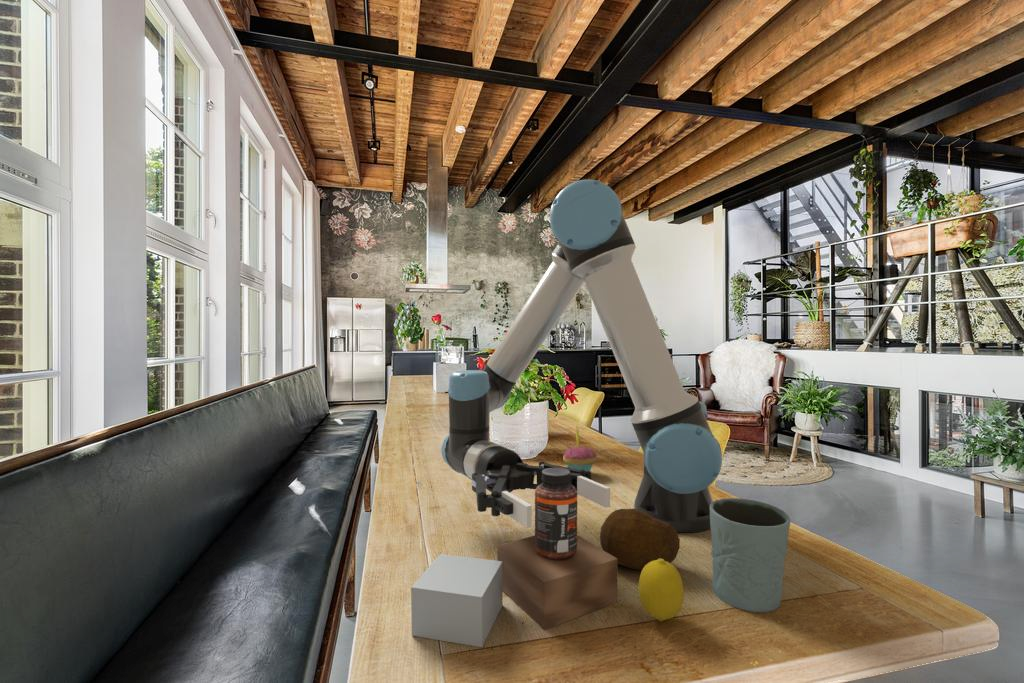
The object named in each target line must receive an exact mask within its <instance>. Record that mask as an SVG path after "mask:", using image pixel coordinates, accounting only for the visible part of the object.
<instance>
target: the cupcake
mask: <svg viewBox="0 0 1024 683" xmlns="http://www.w3.org/2000/svg"><path fill="white" fill-rule="evenodd" d="M575 427H576V429H575V435H576V436H575V438H576V445H575V446H571V447H569V448H567V449H566V450H565V451H564V452H563V457H562V460H563V461H564V463H565V464H566V465H567V466H566V467H569V468H574V469H580V470H582V469H584V470H585V471H590V472H591V469H592V466H593V464H595V463H597V461H598V457H597V456H598V455H597V453H596V452H595V451H594V450H593V449H591V448H589V447H586V446H580V435H579V434H580V433H579V432H580V431H579V429H578V425H576V426H575Z"/></svg>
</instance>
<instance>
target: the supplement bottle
mask: <svg viewBox="0 0 1024 683" xmlns="http://www.w3.org/2000/svg"><path fill="white" fill-rule="evenodd" d="M541 479H542V481H543V482H542V483H541V484H540V485H538V486H537V488H536V489H534V491H535V492H534V536H535V549H536V551H537V552H538V553H539V554H540V555H542V556H544V557H547V558H553V559H564V558H568V557H570V556H572V555H574V554H575V553H576V551H577V535H578V494H577V490H576V488H575V487H574V486H573V485H571V483H570V481H571V478H570V471H569V470H567V469H563V468H547V469H544V470H543V471H542V478H541Z"/></svg>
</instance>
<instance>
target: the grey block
mask: <svg viewBox="0 0 1024 683" xmlns="http://www.w3.org/2000/svg"><path fill="white" fill-rule="evenodd" d="M503 593H504V592H503V583H502V561H498V560H494V559H484V558H479V557H478V558H476V557H469V556H459V555H454V554H453V555H451V554H445V553H439V554H438V555H437V557H436V558H435V559H434V560H433V561H432V563H431V564H430V565H429V566H428V567H427V569H425V571H424V572H423V573H422V574H421V575H420V577H418V579H417V580H416V581H415V582H414V583H413V585H412V586H411V588H410V594H411V595H410V596H411V599H410V600H411V603H410V604H411V609H410V610H411V636H412V637H418V638H425V639H430V640H435V641H442V642H448V643H453V644H454V643H455V644H458V645H459V644H460V645H466V646H472V647H478V648H483V646H484V644H485V642H486V640H487V638H488V636H489V634H490V632H491V630H492V628H493V626H494V623H495V622H496V621H497V620H496V619H497V618H498V616H499V614H500V612H501V609H502V608H503V605H504V604H503V603H504V602H503V600H504V599H503Z"/></svg>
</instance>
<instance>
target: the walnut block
mask: <svg viewBox="0 0 1024 683" xmlns="http://www.w3.org/2000/svg"><path fill="white" fill-rule="evenodd" d="M496 548H497V561H502V583H503V593H505V595H506V596H508V597H509V598H510V599H511V600H512V601H513V602H514V603H515V604H516V605H517V606H518V607H519V608H520V609H521V610H523V612H525V613H526V614H527V616H529V617H530V618H531V619H532V620H533V621H534V622H535V623H536V624H538V625H539V627H541V629H543V630H544V631H546V630H548V629H551V628H553V627H556V626H559V625H561V624H564V623H566V622H569V621H572V620H574V619H577V618H580V617H582V616H586V615H588V614H590V613H593V612H595V611H597V610H601V609H603V608H605V607H608V606H610V605H613V604H616V603H618V565H619V563H618V559H617V558H616V557H614V556H612V555H610V554H609V553H607V552H605V551H604V550H603V549H602V548H600V547H598V546H597V545H595V544H593V543H592V542H590V541H588V540H587V539H584V538H583V537H582V536H580V535H578V534H577V551H576V553H575V554H574V555H572V556H570V557H568V558H564V559H553V558H547V557H544V556H542V555H540V554H539V553H538V552H537V551H536V549H535V535H532V536H528V537H525V538H520V539H516V540H513V541H509V542H505V543H500V544H497V547H496Z"/></svg>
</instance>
